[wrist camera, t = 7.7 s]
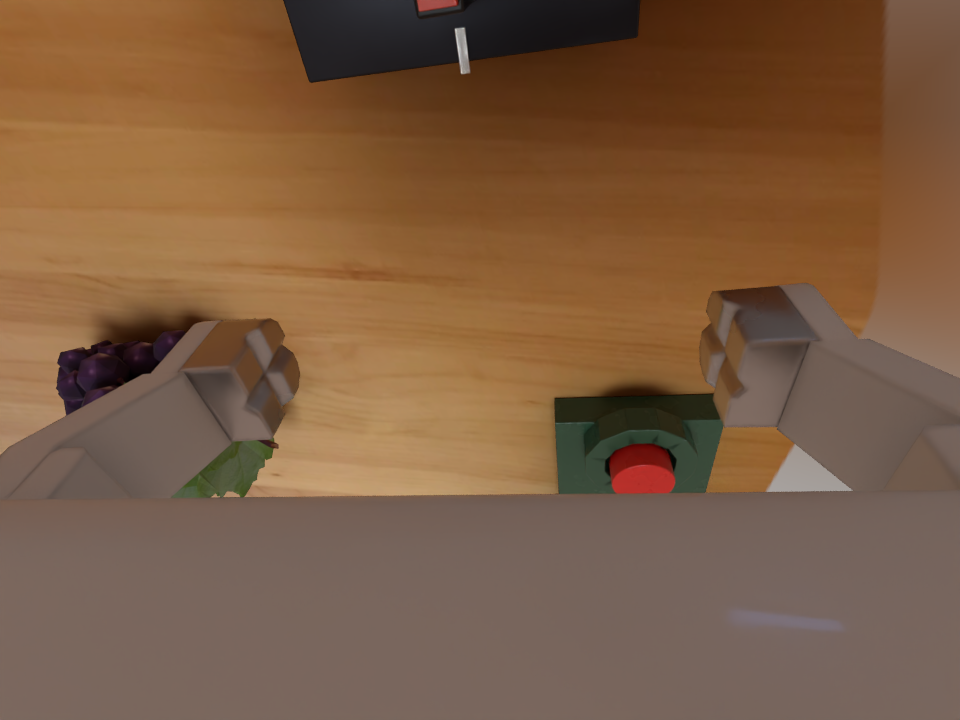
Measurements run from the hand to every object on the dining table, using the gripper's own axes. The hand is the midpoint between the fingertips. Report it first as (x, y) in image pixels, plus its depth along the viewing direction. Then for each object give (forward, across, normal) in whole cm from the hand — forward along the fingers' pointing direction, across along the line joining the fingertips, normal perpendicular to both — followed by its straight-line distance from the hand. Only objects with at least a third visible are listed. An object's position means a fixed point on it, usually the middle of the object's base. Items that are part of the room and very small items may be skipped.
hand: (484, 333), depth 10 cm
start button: (+12, -6, +20) cm, 24 cm away
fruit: (+17, +22, +14) cm, 31 cm away
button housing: (+16, -6, +26) cm, 32 cm away
